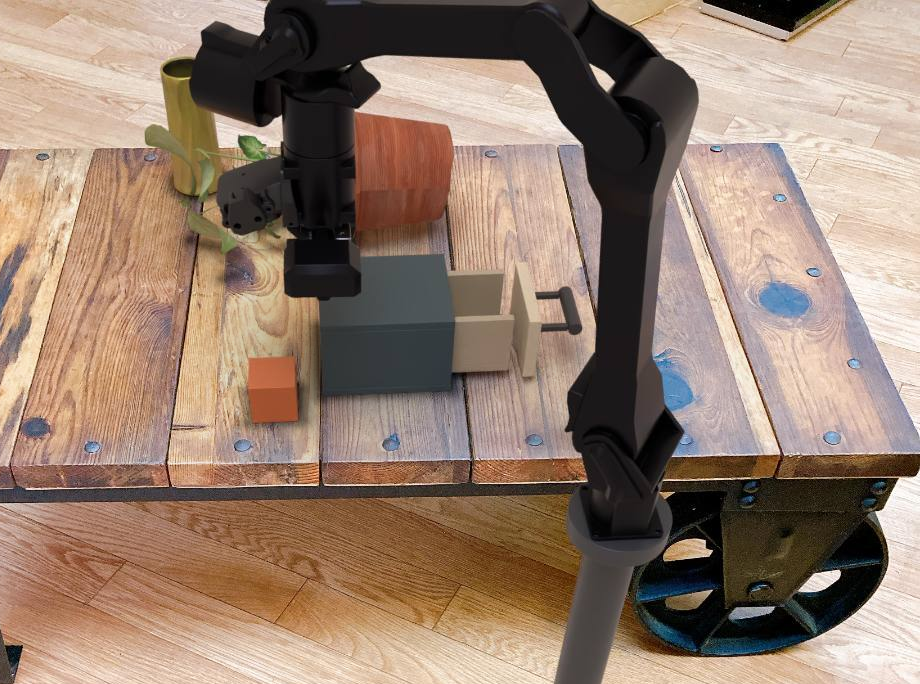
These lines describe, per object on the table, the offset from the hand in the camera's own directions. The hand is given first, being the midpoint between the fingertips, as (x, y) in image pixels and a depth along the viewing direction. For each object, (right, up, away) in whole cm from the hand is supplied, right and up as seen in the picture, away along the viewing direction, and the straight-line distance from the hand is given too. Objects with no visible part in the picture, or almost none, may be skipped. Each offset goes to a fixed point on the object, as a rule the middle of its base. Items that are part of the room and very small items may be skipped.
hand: (323, 298), depth 100 cm
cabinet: (+5, -3, +12) cm, 14 cm away
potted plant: (-5, +13, +26) cm, 30 cm away
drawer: (+17, -2, +12) cm, 21 cm away
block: (-5, -9, +7) cm, 13 cm away
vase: (-17, +21, +33) cm, 43 cm away
